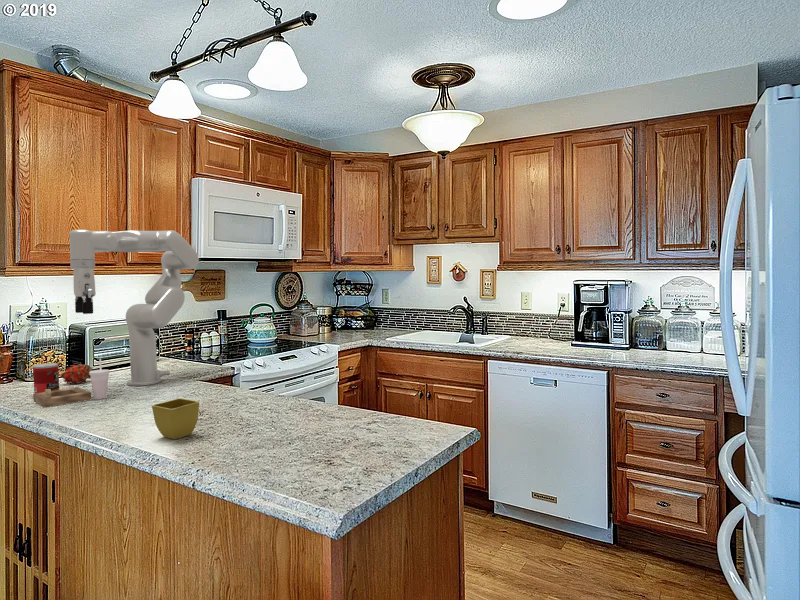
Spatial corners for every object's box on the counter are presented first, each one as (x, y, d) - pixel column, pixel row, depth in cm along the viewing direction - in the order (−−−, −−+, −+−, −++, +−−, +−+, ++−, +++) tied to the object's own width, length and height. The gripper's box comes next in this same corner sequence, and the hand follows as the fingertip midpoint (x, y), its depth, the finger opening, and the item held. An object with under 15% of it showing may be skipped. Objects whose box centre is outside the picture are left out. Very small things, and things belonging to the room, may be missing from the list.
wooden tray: (78, 393, 200) (77, 378, 199) (91, 399, 190) (90, 384, 190) (33, 400, 189) (32, 385, 189) (44, 407, 180) (43, 391, 179)
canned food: (50, 396, 195) (49, 366, 195) (29, 397, 195) (27, 366, 195) (64, 392, 203) (63, 362, 202) (43, 392, 203) (41, 363, 202)
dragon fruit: (97, 384, 223) (63, 393, 215) (90, 370, 227) (58, 379, 220) (96, 370, 218) (62, 378, 211) (90, 356, 223) (56, 364, 215)
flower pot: (172, 443, 140) (171, 408, 139) (152, 438, 145) (150, 404, 144) (201, 434, 147) (200, 401, 147) (181, 429, 152) (179, 397, 152)
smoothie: (115, 396, 194) (113, 357, 193) (99, 400, 188) (98, 360, 187) (101, 395, 196) (99, 357, 195) (85, 399, 190) (84, 359, 189)
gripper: (101, 264, 189) (102, 313, 190) (88, 265, 202) (89, 311, 202) (77, 264, 184) (78, 314, 185) (64, 265, 197) (66, 312, 197)
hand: (84, 313), depth 194 cm, fingers open, 9 cm apart
